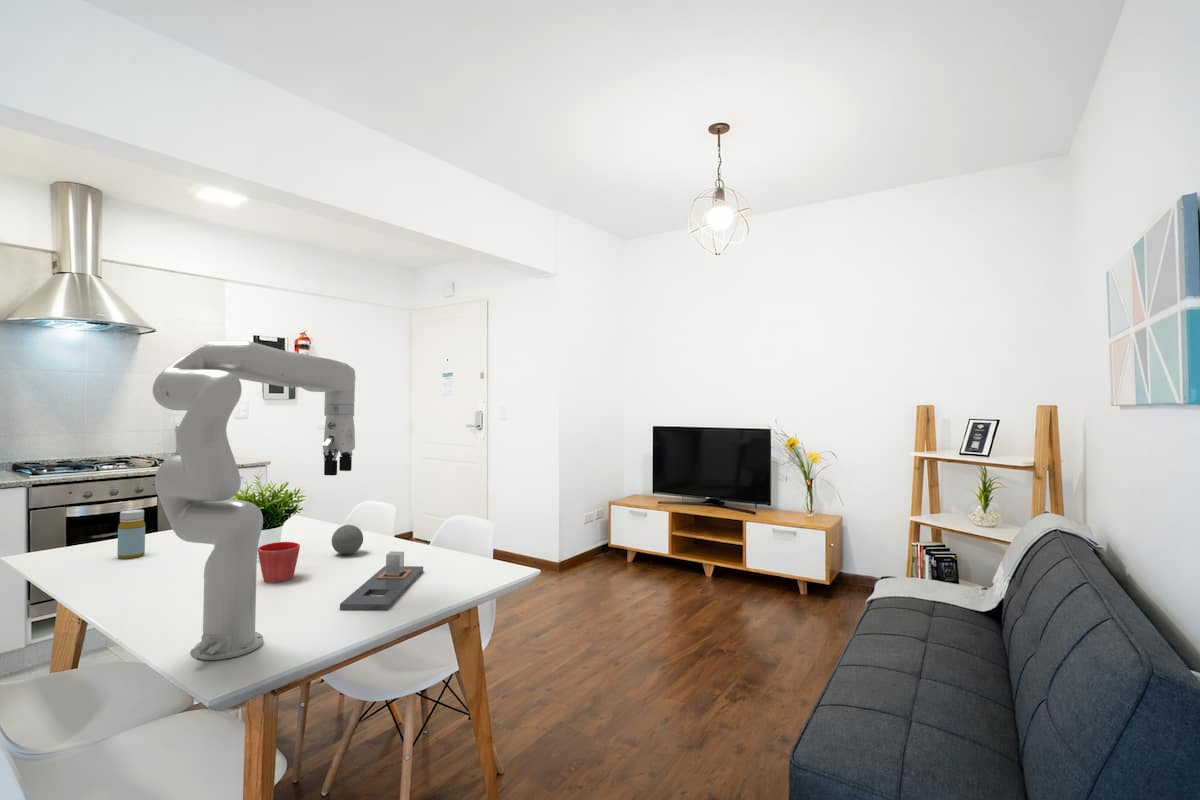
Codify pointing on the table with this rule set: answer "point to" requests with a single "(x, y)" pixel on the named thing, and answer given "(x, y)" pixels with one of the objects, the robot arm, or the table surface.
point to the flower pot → (278, 560)
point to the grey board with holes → (381, 590)
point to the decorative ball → (347, 539)
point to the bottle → (131, 534)
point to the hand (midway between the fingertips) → (338, 472)
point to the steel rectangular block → (395, 564)
